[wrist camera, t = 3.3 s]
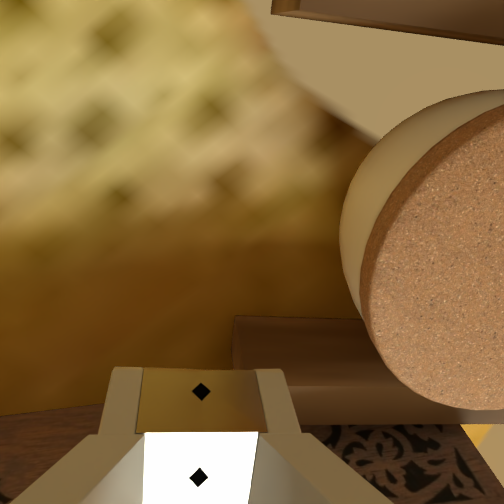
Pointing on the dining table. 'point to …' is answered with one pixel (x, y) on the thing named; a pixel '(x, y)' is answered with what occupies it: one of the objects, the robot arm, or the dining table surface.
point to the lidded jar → (434, 250)
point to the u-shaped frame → (354, 330)
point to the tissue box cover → (332, 436)
